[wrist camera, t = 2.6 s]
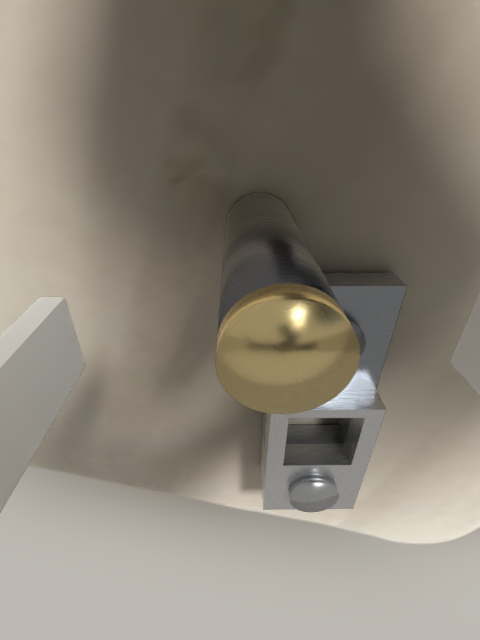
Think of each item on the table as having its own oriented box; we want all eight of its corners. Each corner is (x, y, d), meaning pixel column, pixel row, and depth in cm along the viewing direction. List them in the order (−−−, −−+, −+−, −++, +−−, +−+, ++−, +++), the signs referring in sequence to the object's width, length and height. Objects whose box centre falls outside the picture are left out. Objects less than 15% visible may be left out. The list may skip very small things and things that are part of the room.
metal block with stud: (272, 272, 22) (280, 309, 18) (393, 272, 22) (429, 309, 18) (260, 468, 33) (263, 518, 29) (340, 467, 33) (355, 517, 29)
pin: (225, 192, 19) (212, 301, 8) (294, 192, 19) (374, 301, 8) (226, 258, 21) (217, 414, 10) (288, 258, 21) (346, 413, 10)
